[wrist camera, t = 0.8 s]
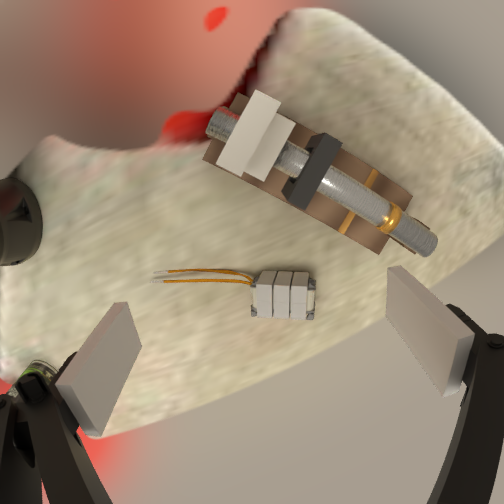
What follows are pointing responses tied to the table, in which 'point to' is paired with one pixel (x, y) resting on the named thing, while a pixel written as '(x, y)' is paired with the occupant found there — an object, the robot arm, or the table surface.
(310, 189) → the dark gray nut plate
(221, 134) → the steel pipe
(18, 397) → the coffee can
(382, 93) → the table surface
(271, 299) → the electrical component
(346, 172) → the pipe stand
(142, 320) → the table surface
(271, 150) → the white u-shaped bracket
